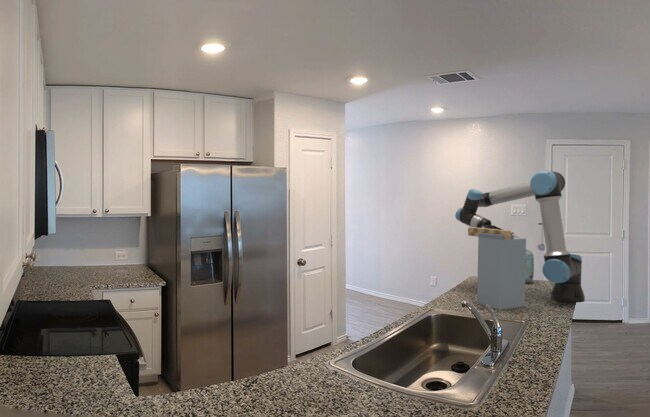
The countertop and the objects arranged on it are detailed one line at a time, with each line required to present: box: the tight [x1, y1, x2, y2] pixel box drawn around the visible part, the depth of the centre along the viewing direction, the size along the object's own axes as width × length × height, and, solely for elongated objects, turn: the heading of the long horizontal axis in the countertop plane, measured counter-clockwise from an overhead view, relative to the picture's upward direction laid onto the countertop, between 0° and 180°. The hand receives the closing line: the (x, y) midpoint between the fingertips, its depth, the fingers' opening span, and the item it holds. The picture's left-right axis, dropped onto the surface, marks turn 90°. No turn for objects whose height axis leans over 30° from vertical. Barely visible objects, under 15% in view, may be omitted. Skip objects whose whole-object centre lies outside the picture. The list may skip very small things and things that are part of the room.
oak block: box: [467, 226, 512, 240], centre depth 225 cm, size 23×4×4 cm, turn 27°
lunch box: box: [525, 248, 535, 284], centre depth 284 cm, size 27×10×21 cm, turn 67°
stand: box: [476, 233, 527, 311], centre depth 223 cm, size 14×16×34 cm
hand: (515, 240), depth 236 cm, fingers open, 13 cm apart
